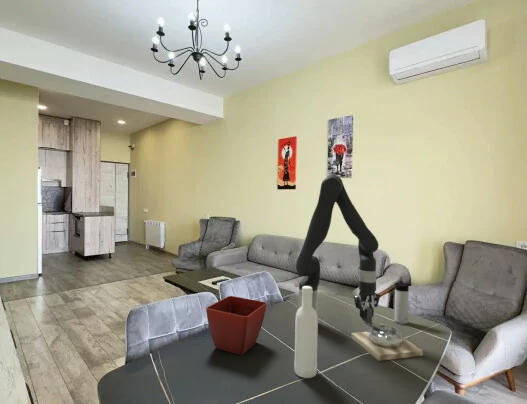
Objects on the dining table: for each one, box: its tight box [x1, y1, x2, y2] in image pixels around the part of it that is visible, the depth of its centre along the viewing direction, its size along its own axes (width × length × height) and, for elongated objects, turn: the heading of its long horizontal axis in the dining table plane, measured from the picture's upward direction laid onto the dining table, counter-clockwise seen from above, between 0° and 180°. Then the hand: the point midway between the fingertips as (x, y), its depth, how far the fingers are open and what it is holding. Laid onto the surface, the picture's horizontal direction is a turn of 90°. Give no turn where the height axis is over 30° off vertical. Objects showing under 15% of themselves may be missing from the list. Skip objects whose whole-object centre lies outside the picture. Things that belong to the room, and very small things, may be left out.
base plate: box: [350, 330, 424, 362], centre depth 125 cm, size 20×20×2 cm
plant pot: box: [205, 295, 267, 356], centre depth 123 cm, size 19×19×17 cm
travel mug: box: [394, 282, 410, 326], centre depth 151 cm, size 6×7×20 cm
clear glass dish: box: [361, 305, 403, 348], centre depth 128 cm, size 19×13×10 cm
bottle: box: [293, 286, 319, 379], centre depth 105 cm, size 8×8×30 cm
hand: (366, 317), depth 135 cm, fingers open, 4 cm apart
